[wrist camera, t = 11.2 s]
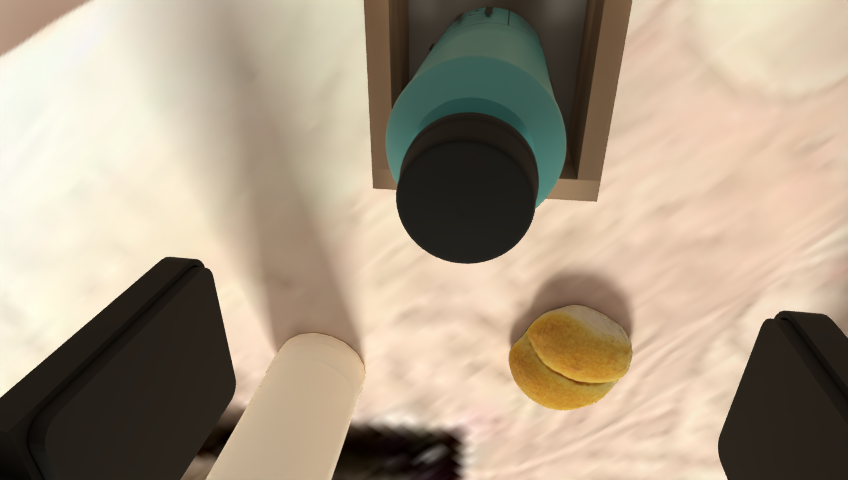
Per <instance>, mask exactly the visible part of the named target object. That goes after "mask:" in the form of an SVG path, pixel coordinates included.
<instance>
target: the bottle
mask: <svg viewBox="0 0 848 480" xmlns="http://www.w3.org/2000/svg"><path fill="white" fill-rule="evenodd" d="M364 380H365V371H364V365H363V363H362V361H361V360H360V358H359V356H358V354H357V353H356V352H355V351H354V350H353V349H351V348H350V347H349V346H348V345H347V344H346V343H344V342H342V341H340V340H338V339H336V338H334V337H332V336H329V335H324V334H319V333H307V334H299V335H297V336H295V337H293V338H290V339H288V340H287V341H286V343H285V344H284V345H283V346H282V347H281V348H280V350H279V352H278V354H277V355H276V356H275V357H274V359H273V360H272V362H271V363H270V365H269V367H268V369H267V371H266V374H265V376H264V378H263V380H262V382H261V383H260V385H259V387H258V389H257V390H256V392H255V394H254V396H253V397H252V399H251V401H250V403H249V404H248V406H247V408H246V410H245V412H244V413H243V415H242V417H241V419H240V420H239V422H238V424H237V426H236V427H235V429H234V431H233V433H232V434H231V436H230V438H229V440H228V441H227V443H226V445H225V447H224V448H223V450H222V452H221V454H220V455H219V457H218V459H217V461H216V462H215V464H214V466H213V468H212V469H211V471H210V473H209V475H208V476H207V478H206V480H331V479H332V476H333V473H334V470H335V467H336V464H337V461H338V458H339V455H340V452H341V449H342V446H343V443H344V440H345V437H346V434H347V431H348V428H349V425H350V422H351V419H352V416H353V414H354V412H355V410H356V407H357V404H358V402H359V399H360V396H361V393H362V386H363V383H364Z"/></svg>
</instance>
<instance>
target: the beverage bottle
mask: <svg viewBox="0 0 848 480" xmlns="http://www.w3.org/2000/svg"><path fill="white" fill-rule="evenodd" d="M488 5H493V6H495V5H494V4H487V5H484V6H488ZM479 6H480V5H479ZM479 6H478V7H479ZM500 6H501V5H500ZM474 8H476V6H475V7H474ZM508 8H509V7H508ZM469 9H470V8H469ZM515 11H516V10H515ZM517 12H518V11H517ZM464 13H465V11H464ZM464 13H463V12H462V14H460V15H459V16H458V17H457V18H456V17H455V18H456V20H455V21H454V22H453V23H452V24H451V25H450V26H449V27H448V28H447V29H446V31H444V34H442V36H441V35H440V36H441V38H440V39H439V41H438V42H437V44H436V45H435V46H434V48H433V45H434V43H435V41H434V43H432V45H431V47H430V48H429V50H430V51H431V50H432V51H431V52H430V53H429V55H428V56H427V58H426V59H425V61H424V62H423V63H422V65H421V66H420V68H419V69H418V71H417V72H416V74H415V76H414V77H413V79H412V78H411V79H412V81H411V82H410V83H409V84H408V85H407V86H406V87H404V88H405V89H404V90H403V91H402V93H401V94H400V96H399V98H398V99H397V101H396V102H395V104H394V107H393V109H392V111H391V113H390V117H389V120H388V124H387V130H386V155H387V160H388V164H389V168H390V171H391V173H392V176H393V178H394V180H395V182H396V184H397V191H396V203H397V209H398V213H399V217H400V219H401V222H402V224H403V226H404V228H405V230H406V231H407V233H408V234H409V235H410V237H411V238H412V239H413V240H414V241H415V242H416V243H417V244H418V245H419V246H420V247H421V248H422V249H424V250H425V251H427V252H428V253H430V254H431V255H433V256H435V257H437V258H440V259H443V260H446V261H450V262H455V263H465V264H470V263H480V262H485V261H488V260H492V259H494V258H496V257H499V256H501V255H503V254H504V253H506V252H508V251H509V250H510V249H512V248H513V247H514V246H515V245H516V244H517V243H518V242H519V241H520V240H521V239H522V238H523V236H524V235H525V233H526V232H527V230H528V229H529V227H530V224H531V222H532V220H533V216H534V213H535V208H537V207H538V206H539V205H540V204H541V203H542V202H543V201H544V200H545V199H546V197H547V196H548V195H549V194H550V192H551V191H552V189H553V188H554V186H555V184H556V183H557V181H558V178H559V176H560V174H561V172H562V168H563V165H564V161H565V155H566V131H565V126H564V122H563V118H562V115H561V112H560V109H559V107H558V105H557V103H556V101H555V98H554V94H553V91H552V87H551V84H550V79H549V74H550V73H549V72H548V71H549V69H547V65H546V61H545V56H544V52H543V48H542V45H541V41H540V37H538V36H537V33H536V32H535V31H534V29H533V28H532V27H534V26H532V25H531V24H530V23H529V22H530V21H529V22H527V20H525V19H524V18H525V17H524V18H522V17H523V14H522V15H521V16H522V17H520V16H519V15H517V14H515V13H516V12H515V13H513V12H511V11H510V8H509V10H505V9H502V8H495V7H485V8H479V9H475V10H472V11H470V12H467V13H465V14H464ZM463 14H464V15H463ZM519 14H520V13H519ZM456 16H457V15H456ZM453 19H454V18H453ZM526 19H527V18H526ZM450 22H451V20H450ZM447 25H448V24H447ZM447 25H446V26H447ZM530 25H531V26H532V27H531V26H530ZM533 25H534V24H533ZM444 28H445V27H444ZM534 28H535V27H534ZM536 29H537V28H536ZM442 33H443V32H442ZM538 35H539V33H538ZM437 38H438V37H437ZM437 38H436V39H437ZM432 48H433V49H432ZM429 50H428V51H429ZM428 51H427V52H428ZM418 63H419V62H418ZM415 68H416V67H415ZM414 70H415V69H414ZM413 73H414V72H413ZM550 78H551V76H550ZM408 79H409V78H408ZM551 81H552V80H551ZM552 85H553V84H552ZM553 89H554V87H553Z"/></svg>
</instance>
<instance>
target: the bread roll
mask: <svg viewBox="0 0 848 480" xmlns="http://www.w3.org/2000/svg"><path fill="white" fill-rule="evenodd" d="M631 359H632V345H631V342H630V340H629V338H628V336H627V334H626V333H625V331H624V329H623V328H622V327H621V326H620V325H619V324H618V323H616V322H614V321H613V320H611V319H610V318H608V317H607V316H605V315H604V314H602V313H600V312H598V311H596V310H593V309H591V308H588V307H585V306H582V305H570V306H565V307H562V308H558V309H555V310H552V311H548V312H546V313H544V314H543V315H541V316H540V317H539V318H537V319H536V320H535V321H534V322H533V323H532V324H531V325H530V327H529V328H528V330H527V331H526V332H525V333H524V335H523V336H522V337H521V338H520V339H519V340H518V341H517V342H516V343H515V344H514V345H513V347H512V348H511V350H510V353H509V365H510V369H511V372H512V375H513V378H514V380H515V382H516V383H517V385H518V386H519V387H520V389H521V390H522V391H523V392H524V393H525V394H526V395H527V396H528V397H529V398H530V399H532V400H533V401H535V402H536V403H538V404H540V405H542V406H544V407H547V408H550V409H555V410H572V409H577V408H581V407H585V406H588V405H591V404H593V403H596V402H597V401H599V400H600V399H602V398H603V397H604V396H605V395H606V394H607V393H608V392H609V391H610V390H611V389H612V388H613V386H614V385H615V384H616V383H617V381H618V380H619V379H620V378H621V377H623V376H624V375H625V374H626V372H627V371H628V369H629V366H630V363H631Z"/></svg>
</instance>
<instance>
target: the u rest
mask: <svg viewBox="0 0 848 480" xmlns="http://www.w3.org/2000/svg"><path fill="white" fill-rule="evenodd" d="M487 4H494V5H495V6H493V5H488V6H484V5H487ZM479 5H480V6H479ZM500 5H501V6H500ZM631 5H632V0H364V12H365V32H366V53H367V73H368V94H369V114H370V135H371V155H372V176H373V188H375V189H392V190H397V184H396V182H395V180H394V178H393V176H392V173H391V171H390V168H389V164H388V160H387V155H386V130H387V124H388V120H389V117H390V113H391V111H392V109H393V107H394V104H395V102H396V101H397V99H398V98H399V96H400V94H401V93H402V91H403V90H404V89H405V88H404V87H406V86H407V85H408V84H409V83H410V82H411V81H412V79H413V77H414V76H415V74H416V72H417V71H418V69H419V68H420V66H421V65H422V63H423V62H424V61H425V59H426V58H427V56H428V55H429V53H430V52H431V51H432V50H431V51H430V50H429V48H430V47H431V45H432V43H434V41H435V43H434V45H433V48H434V46H435V45H436V44H437V42H438V41H439V39H440V38H441V36H442V34H444V31H446V29H447V28H448V27H449V26H450V25H451V24H452V23H453V22H454V21H455V20H456V18H457V17H458V16H459V15H460V14H462V12H463V13H464V11H465V13H467V12H470V11H472V10H475V9H479V8H485V7H495V8H502V9H505V10H509V8H510V11H511V12H513V13H515V12H516V13H515V14H517V15H519V16H520V17H522V16H521V15H522V14H523V17H522V18H524V17H525V18H524V19H525V20H527V22H529V21H530V22H529V23H530V24H531V25H532V26H534V27H535V28H534V27H532V26H531V25H530V26H531V27H532V28H533V29H534V31H535V32H536V33H537V36H538V37H540V41H541V45H542V48H543V52H544V56H545V61H546V65H547V69H549V71H548V72H549V73H550V74H549V79H550V84H551V87H552V91H553V94H554V98H555V101H556V103H557V105H558V107H559V109H560V112H561V115H562V118H563V122H564V126H565V131H566V155H565V161H564V165H563V168H562V172H561V174H560V176H559V178H558V181H557V183H556V184H555V186H554V188H553V189H552V191H551V192H550V194H549V195H548V196H547V197H546V199H561V200H578V201H595V202H597V198H598V192H599V187H600V181H601V175H602V169H603V164H604V158H605V152H606V147H607V141H608V135H609V130H610V124H611V118H612V113H613V107H614V101H615V96H616V90H617V84H618V79H619V73H620V67H621V62H622V56H623V50H624V45H625V39H626V33H627V28H628V22H629V16H630V11H631ZM475 6H476V8H474V7H475ZM478 6H479V7H478ZM508 7H509V8H508ZM469 8H470V9H469ZM515 10H516V11H515ZM517 11H518V12H517ZM465 13H464V14H465ZM519 13H520V14H519ZM464 14H463V15H464ZM456 15H457V16H456ZM455 17H456V18H455ZM453 18H454V19H453ZM526 18H527V19H526ZM450 20H451V22H450ZM447 24H448V25H447ZM533 24H534V25H533ZM446 25H447V26H446ZM444 27H445V28H444ZM536 28H537V29H536ZM442 32H443V33H442ZM538 33H539V35H538ZM440 35H441V36H440ZM437 37H438V38H437ZM436 38H437V39H436ZM433 48H432V49H433ZM428 50H429V51H428ZM427 51H428V52H427ZM418 62H419V63H418ZM415 67H416V68H415ZM414 69H415V70H414ZM413 72H414V73H413ZM550 76H551V78H550ZM408 78H409V79H408ZM411 78H412V79H411ZM551 80H552V81H551ZM552 84H553V85H552ZM553 87H554V89H553Z"/></svg>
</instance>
